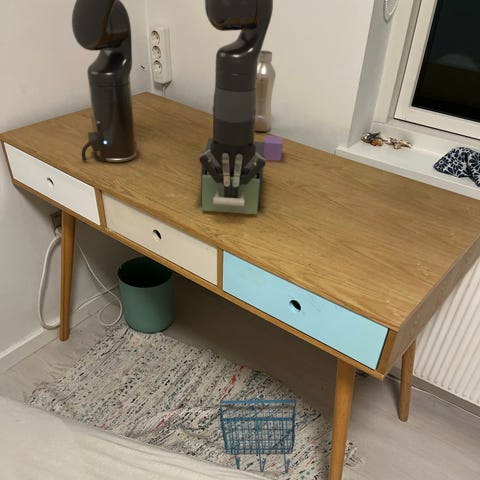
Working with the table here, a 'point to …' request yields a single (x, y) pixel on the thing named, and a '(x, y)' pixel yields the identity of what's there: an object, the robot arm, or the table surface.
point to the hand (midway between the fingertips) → (230, 201)
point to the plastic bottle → (264, 91)
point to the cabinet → (259, 150)
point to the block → (273, 148)
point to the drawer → (242, 204)
